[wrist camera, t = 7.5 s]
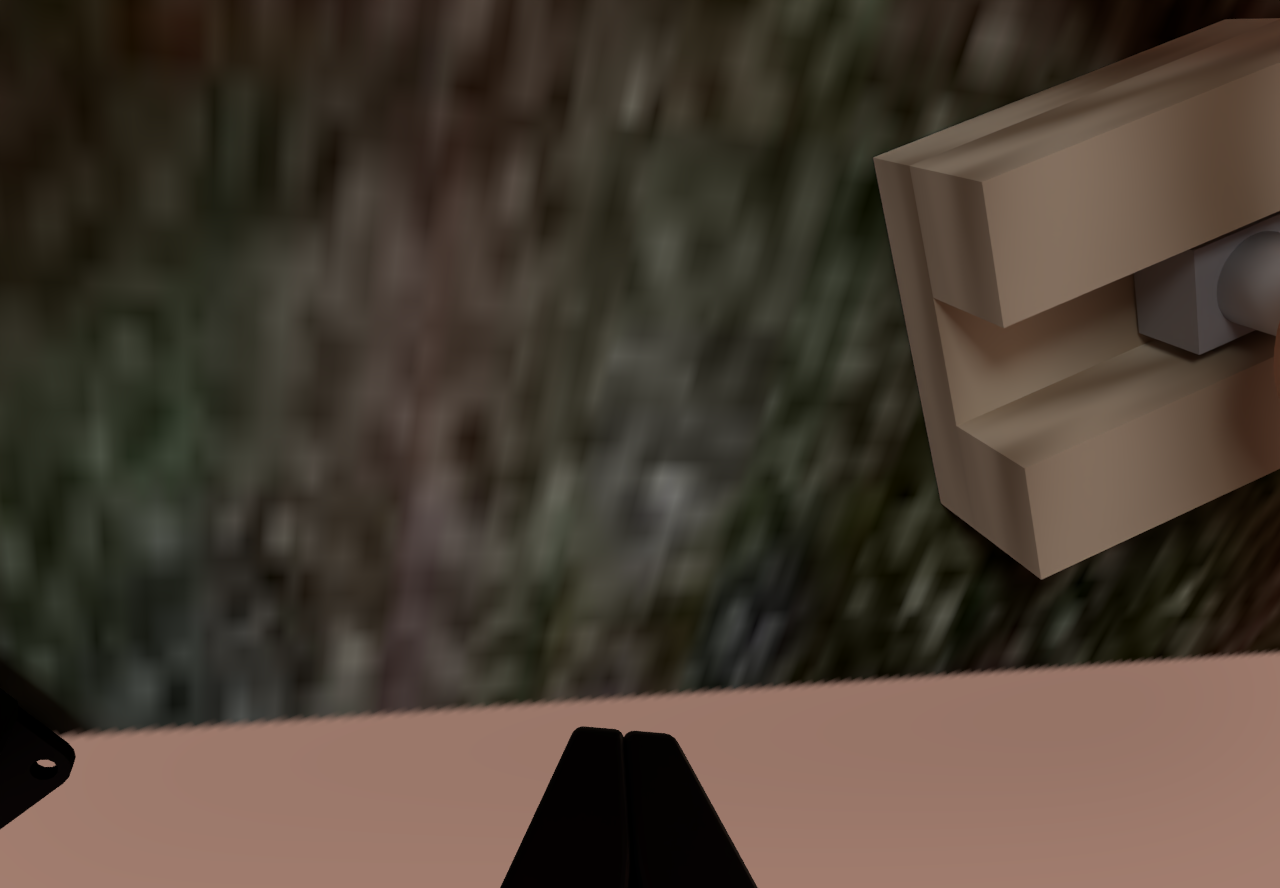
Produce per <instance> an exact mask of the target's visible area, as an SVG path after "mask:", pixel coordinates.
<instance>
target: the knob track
mask: <svg viewBox="0 0 1280 888" xmlns="http://www.w3.org/2000/svg"><path fill="white" fill-rule="evenodd" d="M873 160H874V165H875V170H876V175H877V180H878V185H879V190H880V195H881V201H882V206H883V211H884V216H885V221H886V226H887V231H888V236H889V241H890V246H891V251H892V256H893V262H894V267H895V272H896V277H897V282H898V287H899V292H900V297H901V302H902V307H903V312H904V317H905V323H906V328H907V333H908V338H909V343H910V348H911V353H912V358H913V363H914V368H915V373H916V378H917V384H918V389H919V394H920V399H921V404H922V409H923V414H924V419H925V424H926V429H927V434H928V439H929V445H930V450H931V455H932V460H933V465H934V470H935V475H936V480H937V485H938V490H939V495H940V500H941V504H943V505H944V506H945V507H947V508H948V509H949V510H950V511H952V512H953V513H954V514H956V515H957V516H958V517H960V518H961V519H962V520H964V521H965V522H966V523H968V524H969V525H970V526H971V527H973V528H974V529H975V530H977V531H978V532H979V533H981V534H982V535H983V536H985V537H986V538H987V539H989V540H990V541H991V542H992V543H994V544H995V545H996V546H998V547H999V548H1000V549H1002V550H1003V551H1004V552H1006V553H1007V554H1008V555H1010V556H1011V557H1012V558H1013V559H1015V560H1016V561H1017V562H1019V563H1020V564H1021V565H1023V566H1024V567H1025V568H1027V569H1028V570H1029V571H1030V572H1032V573H1033V574H1034V575H1036V576H1037V577H1038V578H1040V579H1041V580H1042V579H1044V578H1046V577H1048V576H1050V575H1053V574H1055V573H1057V572H1059V571H1061V570H1063V569H1065V568H1068V567H1070V566H1072V565H1074V564H1076V563H1078V562H1080V561H1083V560H1085V559H1087V558H1089V557H1091V556H1093V555H1095V554H1098V553H1100V552H1102V551H1104V550H1106V549H1108V548H1111V547H1113V546H1115V545H1117V544H1119V543H1121V542H1123V541H1126V540H1128V539H1130V538H1132V537H1134V536H1136V535H1138V534H1141V533H1143V532H1145V531H1147V530H1149V529H1151V528H1153V527H1156V526H1158V525H1160V524H1162V523H1164V522H1166V521H1168V520H1171V519H1173V518H1175V517H1177V516H1179V515H1181V514H1183V513H1186V512H1188V511H1190V510H1192V509H1194V508H1196V507H1199V506H1201V505H1203V504H1205V503H1207V502H1209V501H1211V500H1214V499H1216V498H1218V497H1220V496H1222V495H1224V494H1226V493H1229V492H1231V491H1233V490H1235V489H1237V488H1239V487H1241V486H1244V485H1246V484H1248V483H1250V482H1252V481H1254V480H1256V479H1259V478H1261V477H1263V476H1265V475H1267V474H1269V473H1272V472H1274V471H1276V470H1278V469H1280V400H1279V397H1278V394H1277V389H1276V385H1275V378H1274V347H1275V341H1276V336H1274V335H1271V334H1268V333H1264V332H1261V331H1258V330H1255V331H1252V332H1250V333H1248V334H1246V335H1243V336H1241V337H1239V338H1237V339H1234V340H1232V341H1230V342H1228V343H1225V344H1223V345H1221V346H1219V347H1216V348H1214V349H1212V350H1209V351H1207V352H1205V353H1203V354H1200V355H1198V354H1195V353H1193V352H1190V351H1187V350H1184V349H1182V348H1179V347H1176V346H1174V345H1171V344H1168V343H1165V342H1163V341H1160V340H1157V339H1154V338H1152V337H1149V336H1146V335H1144V334H1141V333H1139V328H1138V316H1137V304H1136V292H1135V279H1134V273H1135V272H1137V271H1139V270H1142V269H1144V268H1146V267H1149V266H1151V265H1153V264H1156V263H1158V262H1160V261H1163V260H1165V259H1167V258H1170V257H1172V256H1175V255H1177V254H1179V253H1182V252H1184V251H1186V250H1189V249H1191V248H1193V247H1196V246H1198V245H1200V244H1203V243H1205V242H1207V241H1210V240H1212V239H1214V238H1217V237H1219V236H1222V235H1224V234H1226V233H1229V232H1231V231H1233V230H1236V229H1238V228H1240V227H1243V226H1245V225H1247V224H1250V223H1252V222H1254V221H1257V220H1259V219H1261V218H1264V217H1266V216H1268V215H1271V214H1273V213H1276V212H1278V211H1280V18H1268V19H1225V20H1222V21H1220V22H1217V23H1215V24H1212V25H1210V26H1207V27H1205V28H1202V29H1199V30H1197V31H1194V32H1192V33H1189V34H1187V35H1184V36H1182V37H1179V38H1177V39H1174V40H1171V41H1169V42H1166V43H1164V44H1161V45H1159V46H1156V47H1154V48H1151V49H1149V50H1146V51H1143V52H1141V53H1138V54H1136V55H1133V56H1131V57H1128V58H1126V59H1123V60H1120V61H1118V62H1115V63H1113V64H1110V65H1108V66H1105V67H1103V68H1100V69H1098V70H1095V71H1092V72H1090V73H1087V74H1085V75H1082V76H1080V77H1077V78H1075V79H1072V80H1070V81H1067V82H1064V83H1062V84H1059V85H1057V86H1054V87H1052V88H1049V89H1047V90H1044V91H1042V92H1039V93H1036V94H1034V95H1031V96H1029V97H1026V98H1024V99H1021V100H1019V101H1016V102H1013V103H1011V104H1008V105H1006V106H1003V107H1001V108H998V109H996V110H993V111H991V112H988V113H985V114H983V115H980V116H978V117H975V118H973V119H970V120H968V121H965V122H963V123H960V124H957V125H955V126H952V127H950V128H947V129H945V130H942V131H940V132H937V133H935V134H932V135H929V136H927V137H924V138H922V139H919V140H917V141H914V142H912V143H909V144H907V145H904V146H901V147H899V148H896V149H894V150H891V151H889V152H886V153H884V154H881V155H878V156H876V157H873Z"/></svg>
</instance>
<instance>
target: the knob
mask: <svg viewBox="0 0 1280 888" xmlns="http://www.w3.org/2000/svg"><path fill="white" fill-rule="evenodd" d="M1134 279H1135V292H1136V304H1137V316H1138V328H1139V333H1141V334H1144V335H1146V336H1149V337H1152V338H1154V339H1157V340H1160V341H1163V342H1165V343H1168V344H1171V345H1174V346H1176V347H1179V348H1182V349H1184V350H1187V351H1190V352H1193V353H1195V354H1198V355H1200V354H1203V353H1205V352H1207V351H1209V350H1212V349H1214V348H1216V347H1219V346H1221V345H1223V344H1225V343H1228V342H1230V341H1232V340H1234V339H1237V338H1239V337H1241V336H1243V335H1246V334H1248V333H1250V332H1252V331H1255V330H1258V331H1261V332H1264V333H1268V334H1271V335H1274V336H1276V341H1275V347H1274V378H1275V385H1276V389H1277V394H1278V397H1279V400H1280V211H1278V212H1276V213H1273V214H1271V215H1268V216H1266V217H1264V218H1261V219H1259V220H1257V221H1254V222H1252V223H1250V224H1247V225H1245V226H1243V227H1240V228H1238V229H1236V230H1233V231H1231V232H1229V233H1226V234H1224V235H1222V236H1219V237H1217V238H1214V239H1212V240H1210V241H1207V242H1205V243H1203V244H1200V245H1198V246H1196V247H1193V248H1191V249H1189V250H1186V251H1184V252H1182V253H1179V254H1177V255H1175V256H1172V257H1170V258H1167V259H1165V260H1163V261H1160V262H1158V263H1156V264H1153V265H1151V266H1149V267H1146V268H1144V269H1142V270H1139V271H1137V272H1135V273H1134Z"/></svg>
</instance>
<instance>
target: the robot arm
mask: <svg viewBox="0 0 1280 888" xmlns="http://www.w3.org/2000/svg"><path fill="white" fill-rule="evenodd" d="M38 760H50V761H53V762H55V764H56V766H53V767H43V766H41V765H39V764H38V763H37V762H36V761H38ZM74 760H75V752H74V749H73V748H72V747H71V746H70V745H69V743H67V742H66V741H65V740H63V739H62V738H61V737H59V736H58V735H57V734H55V733H54V732H53V731H51V730H50V729H49V728H47V727H46V726H45V725H43V724H42V723H41V722H39V721H38V720H36V719H35V718H34V717H32V716H31V715H30V714H28V713H27V712H26V711H24V710H23V709H22V708H20V707H19V706H18V703H17V701H16V700H15V699H14V698H13V697H11V696H10V695H9V694H7V693H6V692H5V691H3V690H2V689H1V688H0V829H1V828H3V827H4V826H5V825H7V824H8V823H9V822H11V821H12V820H14V819H15V818H16V817H18V816H19V815H20V814H22V813H23V812H25V811H26V810H27V809H28V808H30V807H31V806H33V805H34V804H35V803H37V802H38V801H40V800H41V799H42V798H44V797H45V796H46V795H48V794H49V793H51V792H52V791H53V790H55V789H56V788H57V787H59V786H60V785H61V784H63V783H64V782H65V781H66V780H67V779H68V777H69V776H70V772H71V770H72V767H73V764H74ZM500 888H757V886H756V884H755V882H754V880H753V879H752V877H751V875H750V873H749V871H748V869H747V868H746V866H745V864H744V862H743V860H742V859H741V857H740V855H739V853H738V851H737V850H736V847H735V846H734V844H733V842H732V840H731V838H730V837H729V835H728V833H727V831H726V829H725V827H724V826H723V824H722V822H721V820H720V818H719V817H718V815H717V813H716V811H715V809H714V807H713V805H712V804H711V802H710V800H709V798H708V796H707V795H706V793H705V791H704V789H703V787H702V786H701V784H700V782H699V780H698V778H697V776H696V774H695V773H694V771H693V769H692V767H691V765H690V764H689V762H688V760H687V758H686V756H685V754H684V753H683V751H682V749H681V747H680V746H679V744H678V742H677V741H676V739H675V738H674V737H672V736H671V735H669V734H665V733H653V732H641V731H631V732H628V733H627V734H626V735H625V737H623V735H622V733H621V732H620V731H619V730H616V729H606V728H594V727H579V728H577V729H576V730H575V731H574V732H573V733H572V735H571V737H570V739H569V741H568V744H567V746H566V748H565V750H564V752H563V754H562V756H561V759H560V761H559V763H558V765H557V767H556V769H555V772H554V774H553V776H552V778H551V780H550V782H549V784H548V787H547V789H546V791H545V793H544V795H543V798H542V800H541V802H540V804H539V806H538V808H537V810H536V812H535V814H534V817H533V819H532V821H531V823H530V825H529V828H528V829H527V832H526V834H525V836H524V838H523V840H522V843H521V845H520V847H519V849H518V851H517V853H516V855H515V857H514V860H513V862H512V864H511V866H510V868H509V870H508V872H507V875H506V877H505V879H504V881H503V883H502V885H501V887H500Z"/></svg>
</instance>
